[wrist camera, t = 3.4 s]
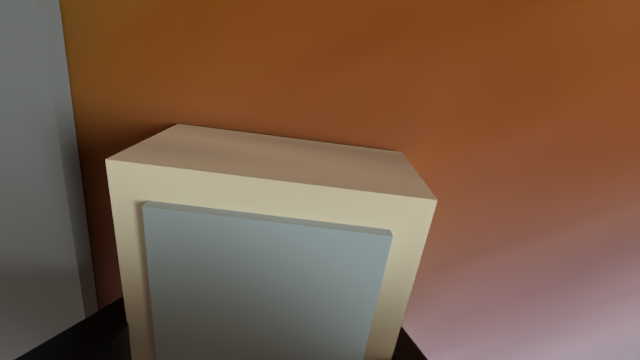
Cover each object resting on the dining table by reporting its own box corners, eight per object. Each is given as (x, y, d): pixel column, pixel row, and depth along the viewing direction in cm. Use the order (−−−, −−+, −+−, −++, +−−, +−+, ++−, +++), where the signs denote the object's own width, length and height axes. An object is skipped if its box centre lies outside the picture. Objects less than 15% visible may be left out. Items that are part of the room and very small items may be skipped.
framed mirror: (346, 392, 10) (353, 503, 8) (188, 375, 10) (142, 483, 8) (402, 151, 7) (441, 206, 5) (178, 123, 7) (96, 163, 5)
